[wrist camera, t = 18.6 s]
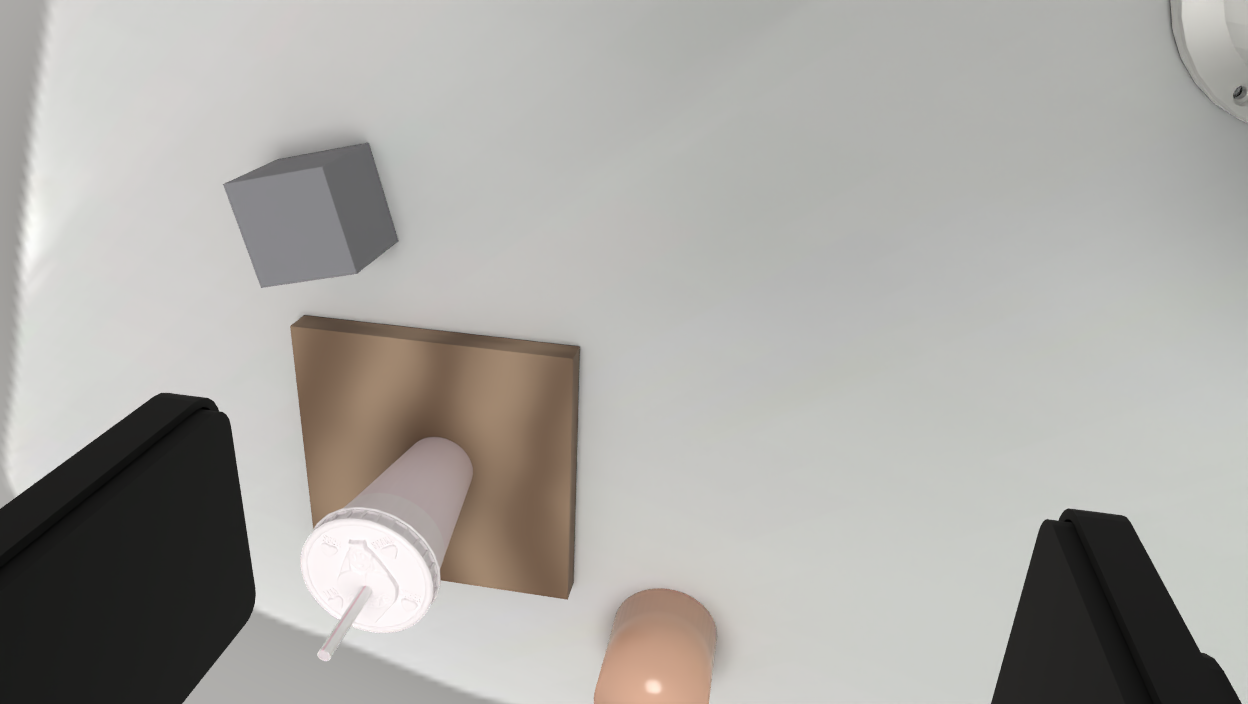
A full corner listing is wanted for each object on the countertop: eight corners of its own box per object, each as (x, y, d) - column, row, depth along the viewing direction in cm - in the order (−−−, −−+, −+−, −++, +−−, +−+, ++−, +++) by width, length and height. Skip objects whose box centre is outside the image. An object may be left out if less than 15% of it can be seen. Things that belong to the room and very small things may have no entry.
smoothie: (395, 515, 53) (268, 700, 40) (373, 414, 50) (229, 577, 38) (505, 518, 52) (409, 709, 39) (487, 414, 49) (379, 583, 37)
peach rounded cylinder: (721, 596, 53) (711, 672, 48) (712, 678, 56) (702, 758, 50) (616, 581, 54) (595, 654, 49) (612, 661, 57) (592, 739, 51)
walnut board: (579, 346, 48) (573, 358, 47) (573, 582, 55) (567, 599, 53) (304, 315, 50) (290, 326, 49) (328, 546, 57) (316, 561, 55)
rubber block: (369, 142, 46) (322, 166, 41) (398, 240, 48) (356, 273, 43) (278, 158, 47) (223, 184, 43) (310, 254, 49) (261, 287, 44)
